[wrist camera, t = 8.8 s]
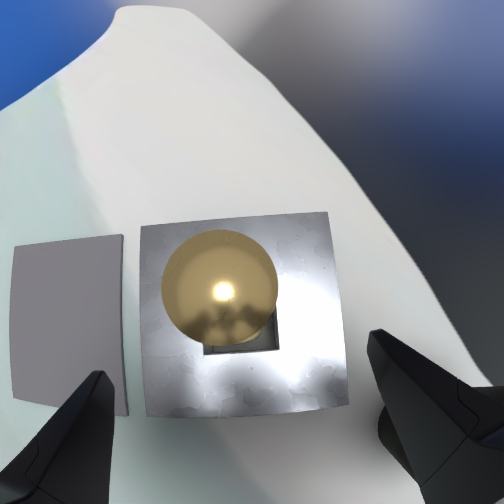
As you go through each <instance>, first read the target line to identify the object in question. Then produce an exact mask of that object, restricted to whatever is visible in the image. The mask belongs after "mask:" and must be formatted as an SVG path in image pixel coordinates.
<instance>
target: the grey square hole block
mask: <svg viewBox="0 0 504 504" xmlns="http://www.w3.org/2000/svg"><path fill="white" fill-rule="evenodd" d="M210 230H231V231H235V232H239V233H242V234H244V235H246V236H248V237H250V238H252V239H253V240H255V241H256V242H257V243H258V244H260V245H261V246H262V247H263V248H264V249H265V251H266V252H267V253H268V255H269V256H270V258H271V260H272V261H273V264H274V266H275V269H276V272H277V276H278V297H277V302H276V305H275V308H274V310H273V318H274V330H275V343H276V349H265V350H252V351H237V352H219V353H213V349H212V346H211V345H206V344H202V343H199V342H196V341H194V340H192V339H190V338H189V337H187V336H186V335H184V334H183V333H182V332H181V331H179V330H178V329H177V328H176V326H175V325H174V324H173V323H172V321H171V320H170V318H169V317H168V315H167V313H166V311H165V308H164V305H163V301H162V295H161V282H162V276H163V272H164V269H165V266H166V264H167V262H168V260H169V258H170V257H171V255H172V254H173V253H174V251H175V250H176V249H177V248H178V247H179V246H180V245H181V244H182V243H184V242H185V241H186V240H188V239H189V238H191V237H193V236H195V235H197V234H200V233H202V232H206V231H210ZM140 333H141V353H142V369H143V382H144V393H145V403H146V413H147V416H150V417H173V418H220V417H244V416H260V415H272V414H283V413H292V412H301V411H309V410H316V409H323V408H330V407H336V406H342V405H348V404H349V402H348V384H347V369H346V356H345V344H344V334H343V323H342V314H341V305H340V296H339V288H338V280H337V272H336V265H335V257H334V251H333V244H332V237H331V231H330V224H329V218H328V212H312V213H295V214H280V215H265V216H251V217H238V218H226V219H213V220H202V221H191V222H180V223H169V224H159V225H149V226H141V234H140Z"/></svg>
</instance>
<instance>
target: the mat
mask: <svg viewBox="0 0 504 504" xmlns="http://www.w3.org/2000/svg"><path fill="white" fill-rule="evenodd" d="M122 257H123V235H122V234H117V235H107V236H98V237H89V238H80V239H72V240H63V241H55V242H47V243H39V244H31V245H23V246H15V248H14V256H13V266H12V277H11V291H10V316H9V340H10V364H11V378H12V389H13V398H16V399H20V400H25V401H29V402H34V403H38V404H43V405H48V406H53V407H59V408H60V407H61V406H62V405H63V403H64V402H65V401H66V400H67V399H68V398H69V397H70V396H71V394H72V393H73V392H74V391H75V390H76V389H77V388H78V387H79V385H80V384H81V383H82V382H83V381H84V380H85V379H86V378H87V377H88V376H89V374H90V373H91V372H92V371H94V370H104V371H105V372H106V374H107V375H108V377H109V378H110V380H111V381H112V383H113V385H114V388H115V415H117V416H128V415H129V414H128V405H127V395H126V384H125V372H124V356H123V335H122Z"/></svg>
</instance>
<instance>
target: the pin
mask: <svg viewBox="0 0 504 504" xmlns="http://www.w3.org/2000/svg"><path fill="white" fill-rule="evenodd" d="M161 295H162V301H163V305H164V308H165V311H166V313H167V315H168V317H169V318H170V320H171V321H172V323H173V324H174V325H175V326H176V328H177V329H178V330H179V331H181V332H182V333H183V334H184V335H186V336H187V337H189V338H190V339H192V340H194V341H196V342H199V343H202V344H206V345H211V346H227V345H234V344H240V343H246V342H250V341H252V340H254V339H256V338H257V337H258V336H259V335H260V334H261V332H262V331H263V329H264V327H265V325H266V324H267V322H268V320H269V318H270V316H271V315H272V313H273V310H274V308H275V305H276V302H277V297H278V276H277V272H276V269H275V266H274V264H273V261H272V260H271V258H270V256H269V255H268V253H267V252H266V251H265V249H264V248H263V247H262V246H261V245H260V244H258V243H257V242H256V241H255V240H253V239H252V238H250V237H248V236H246V235H244V234H242V233H239V232H235V231H231V230H210V231H206V232H202V233H200V234H197V235H195V236H193V237H191V238H189V239H188V240H186V241H185V242H184V243H182V244H181V245H180V246H179V247H178V248H177V249H176V250H175V251H174V253H173V254H172V255H171V257H170V258H169V260H168V262H167V264H166V266H165V269H164V272H163V276H162V282H161Z"/></svg>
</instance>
